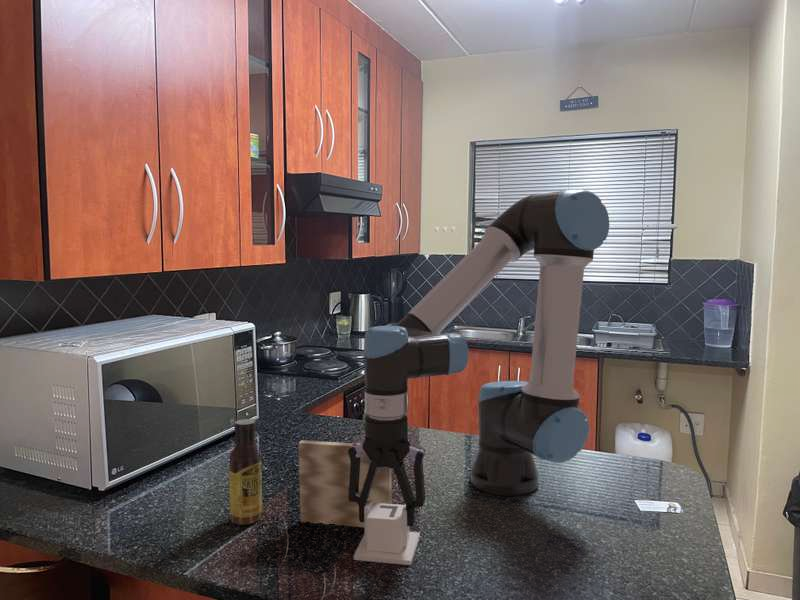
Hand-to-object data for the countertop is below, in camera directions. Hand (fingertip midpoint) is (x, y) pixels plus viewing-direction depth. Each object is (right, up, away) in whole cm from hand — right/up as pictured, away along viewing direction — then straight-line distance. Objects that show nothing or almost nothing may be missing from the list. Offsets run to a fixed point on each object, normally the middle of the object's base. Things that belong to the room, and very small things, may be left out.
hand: (387, 540), depth 107 cm
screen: (-8, 0, +12) cm, 14 cm away
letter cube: (0, -1, 0) cm, 1 cm away
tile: (0, -1, 0) cm, 2 cm away
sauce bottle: (-28, -1, +12) cm, 30 cm away
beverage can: (-4, +3, +49) cm, 49 cm away
